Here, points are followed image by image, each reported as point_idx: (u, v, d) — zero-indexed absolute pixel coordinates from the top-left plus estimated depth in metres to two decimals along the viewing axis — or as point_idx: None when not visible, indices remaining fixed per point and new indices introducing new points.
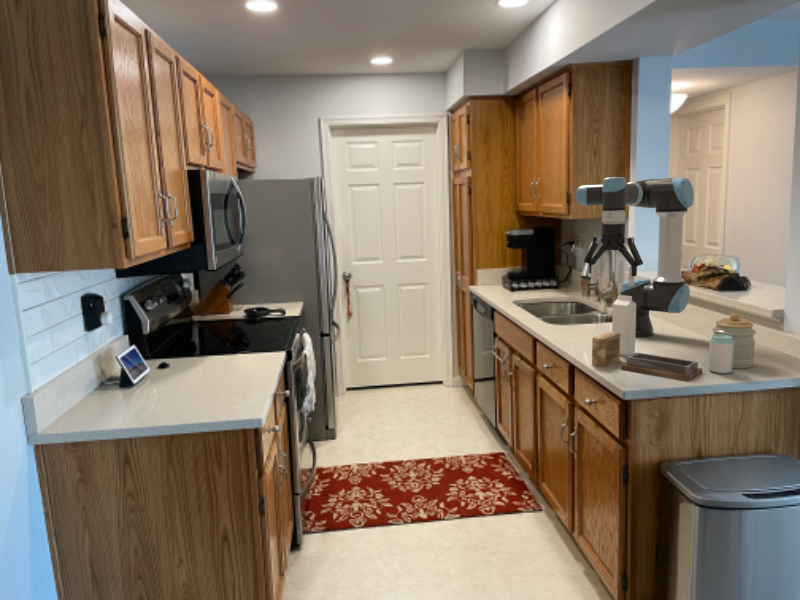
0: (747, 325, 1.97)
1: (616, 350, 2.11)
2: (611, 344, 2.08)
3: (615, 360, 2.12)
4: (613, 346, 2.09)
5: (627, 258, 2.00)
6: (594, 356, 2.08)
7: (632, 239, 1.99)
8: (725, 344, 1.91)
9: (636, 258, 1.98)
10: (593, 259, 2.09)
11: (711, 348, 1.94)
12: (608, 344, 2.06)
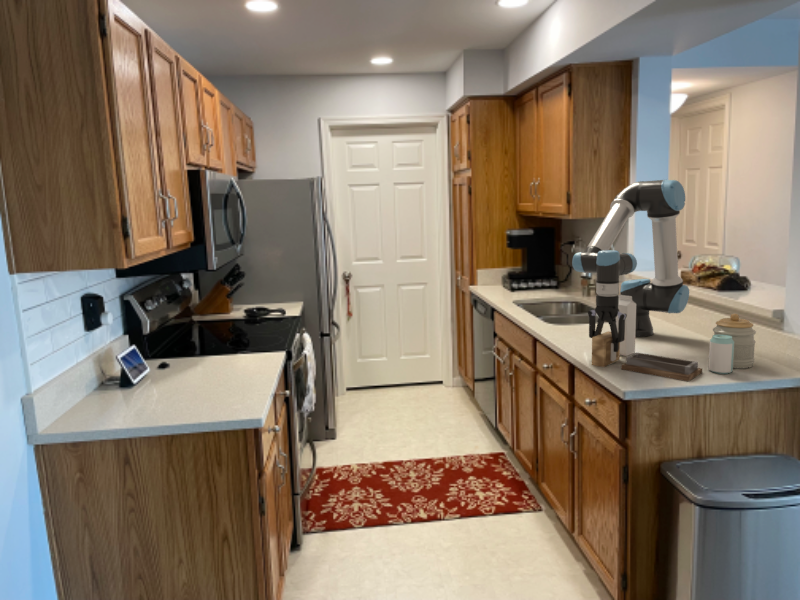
0: (747, 325, 1.97)
1: None
2: None
3: (615, 360, 2.12)
4: None
5: (612, 333, 2.07)
6: (594, 355, 2.08)
7: (624, 316, 2.04)
8: (725, 344, 1.91)
9: (620, 335, 2.05)
10: (596, 334, 2.11)
11: (711, 348, 1.94)
12: (608, 344, 2.06)
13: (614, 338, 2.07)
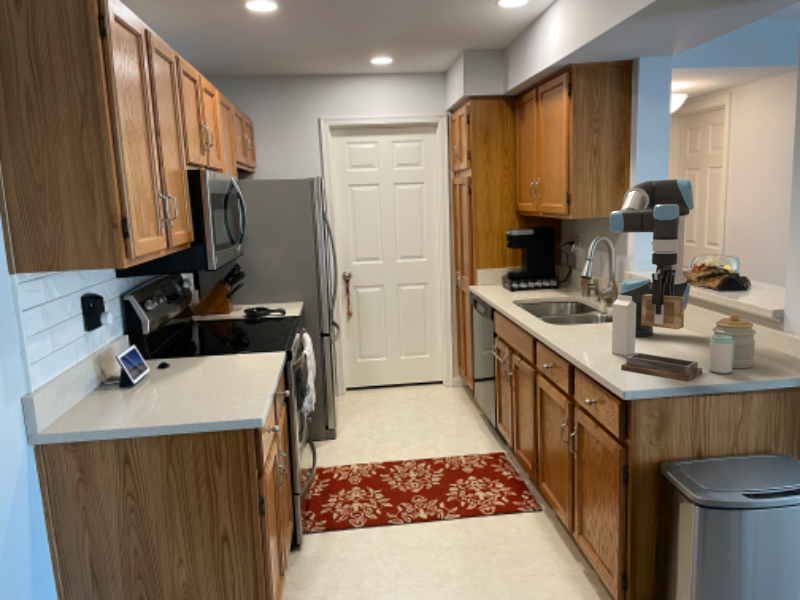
0: (747, 325, 1.97)
1: (668, 315, 1.92)
2: None
3: (667, 326, 1.93)
4: None
5: None
6: None
7: (655, 276, 1.89)
8: (725, 344, 1.91)
9: None
10: None
11: (711, 348, 1.94)
12: (649, 303, 1.96)
13: None
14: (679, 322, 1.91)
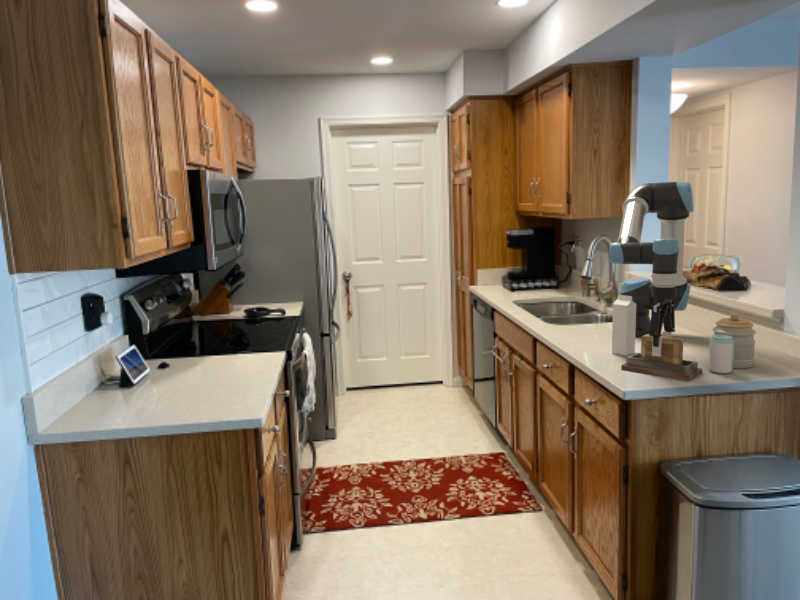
0: (747, 325, 1.97)
1: (667, 357, 1.94)
2: None
3: None
4: None
5: None
6: None
7: (655, 308, 1.91)
8: (725, 344, 1.91)
9: None
10: None
11: (711, 348, 1.94)
12: (648, 344, 1.98)
13: None
14: (678, 363, 1.94)
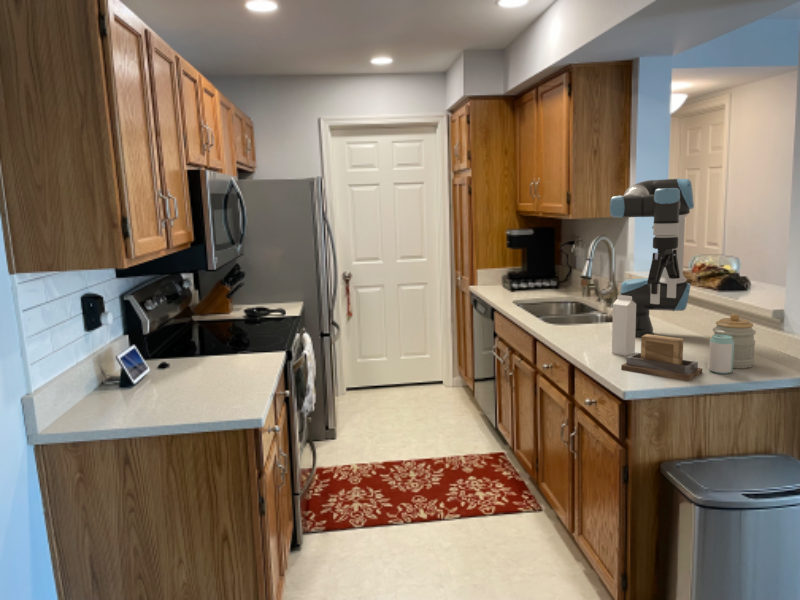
0: (747, 325, 1.97)
1: (667, 357, 1.94)
2: (655, 346, 1.97)
3: None
4: (660, 350, 1.96)
5: None
6: None
7: (656, 255, 1.89)
8: (725, 344, 1.91)
9: None
10: None
11: (711, 348, 1.94)
12: (648, 344, 1.98)
13: None
14: (678, 363, 1.94)
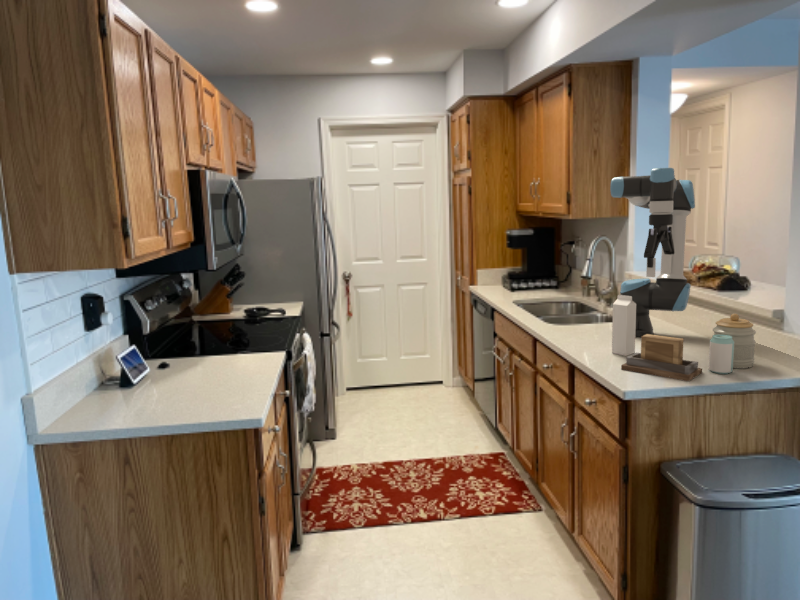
0: (747, 325, 1.97)
1: (667, 357, 1.94)
2: (655, 346, 1.97)
3: None
4: (660, 350, 1.96)
5: None
6: None
7: (652, 230, 2.01)
8: (725, 344, 1.91)
9: None
10: None
11: (711, 348, 1.94)
12: (648, 344, 1.98)
13: None
14: (678, 363, 1.94)
